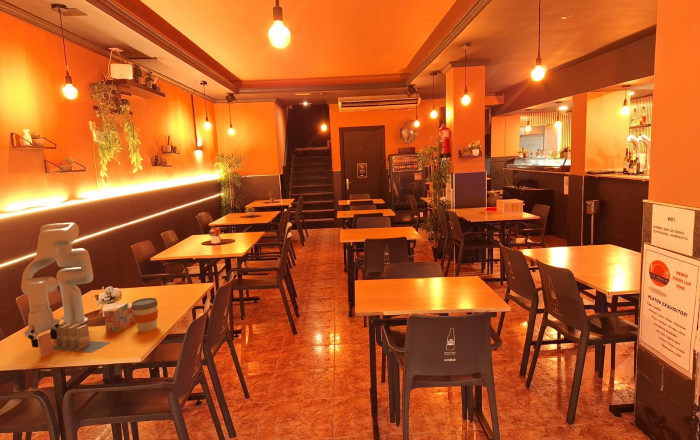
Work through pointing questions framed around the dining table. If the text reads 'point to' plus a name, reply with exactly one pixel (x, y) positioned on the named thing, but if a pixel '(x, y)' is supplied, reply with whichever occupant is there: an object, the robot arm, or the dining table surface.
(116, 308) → the stack of blocks
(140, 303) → the reusable coffee cup
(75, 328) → the cream domino
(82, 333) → the cream domino
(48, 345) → the terracotta domino
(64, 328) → the cream domino
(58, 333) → the cream domino
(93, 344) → the slate mat
